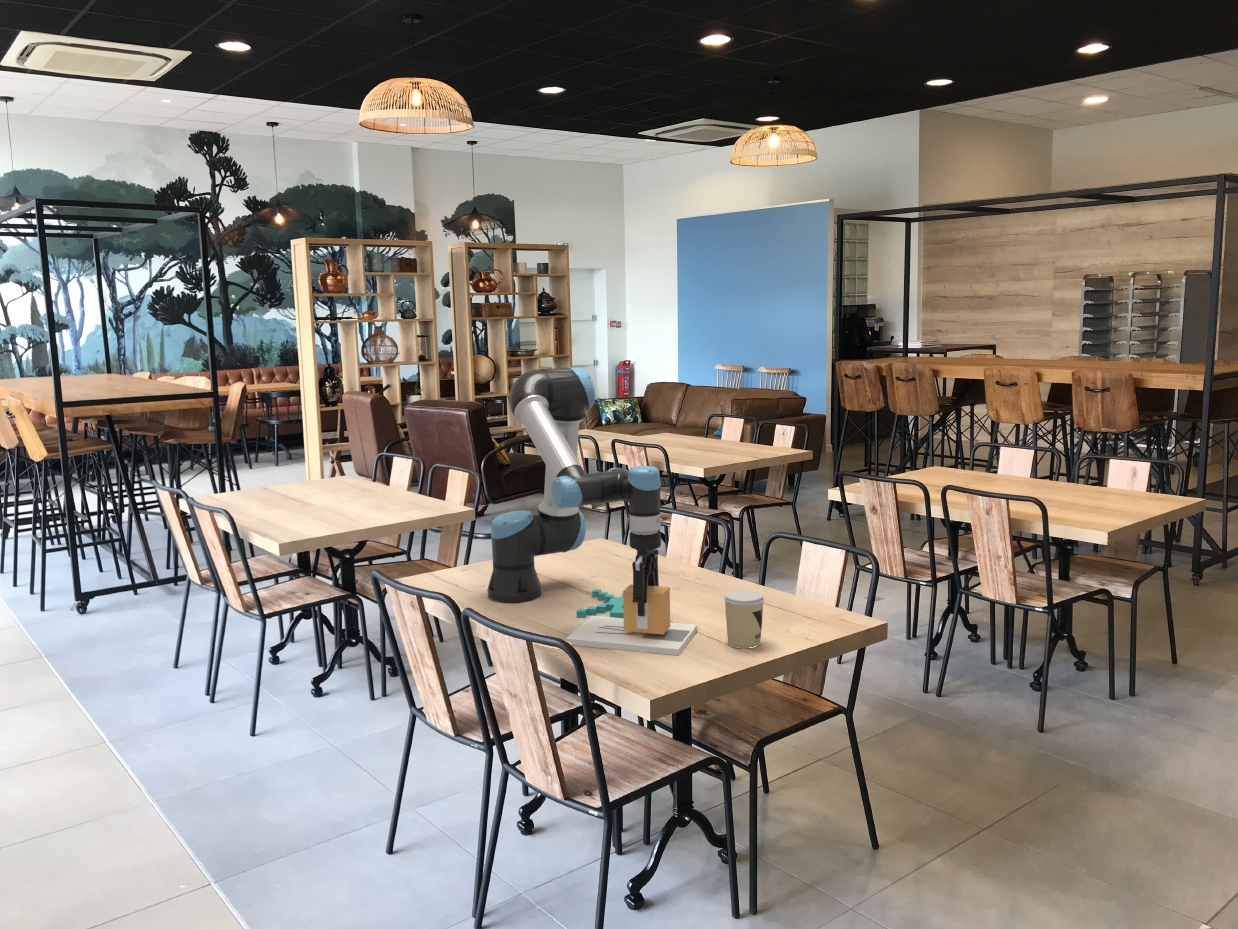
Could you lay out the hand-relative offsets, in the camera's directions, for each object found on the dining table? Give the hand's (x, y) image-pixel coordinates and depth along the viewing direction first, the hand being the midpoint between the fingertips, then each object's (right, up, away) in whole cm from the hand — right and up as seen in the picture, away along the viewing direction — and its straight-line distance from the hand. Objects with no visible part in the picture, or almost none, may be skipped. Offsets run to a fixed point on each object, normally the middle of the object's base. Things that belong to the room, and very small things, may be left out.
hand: (646, 623), depth 237 cm
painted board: (-3, -4, +2) cm, 5 cm away
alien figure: (-6, -1, +26) cm, 27 cm away
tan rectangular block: (0, -1, 0) cm, 1 cm away
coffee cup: (+23, -4, -4) cm, 24 cm away
